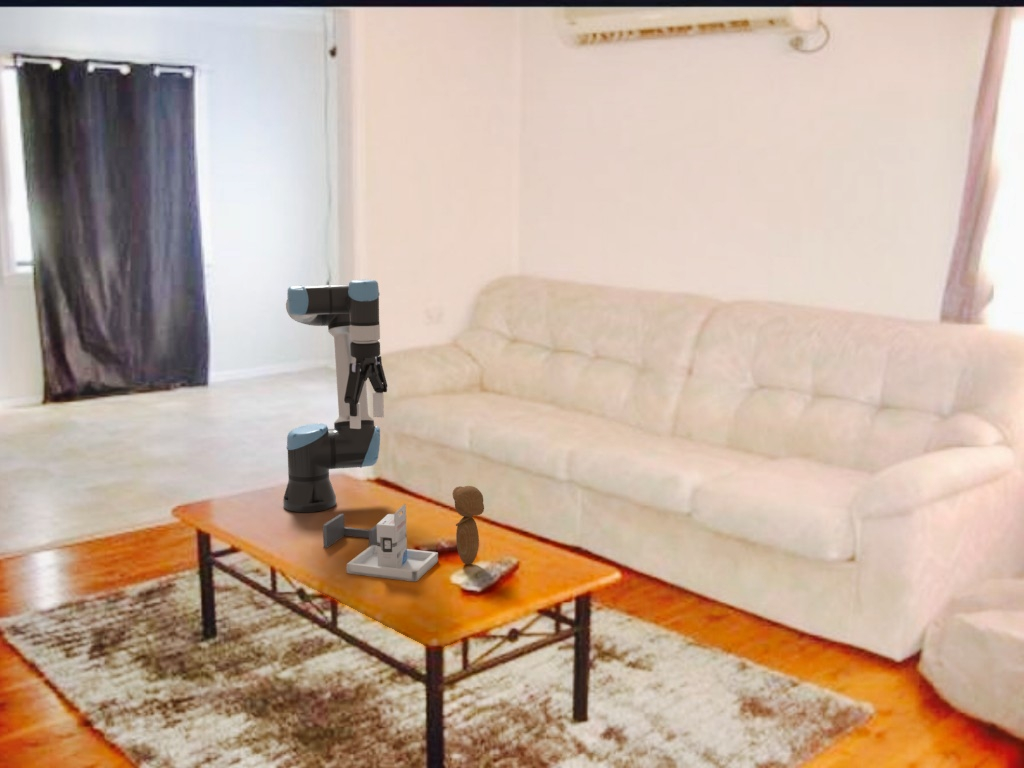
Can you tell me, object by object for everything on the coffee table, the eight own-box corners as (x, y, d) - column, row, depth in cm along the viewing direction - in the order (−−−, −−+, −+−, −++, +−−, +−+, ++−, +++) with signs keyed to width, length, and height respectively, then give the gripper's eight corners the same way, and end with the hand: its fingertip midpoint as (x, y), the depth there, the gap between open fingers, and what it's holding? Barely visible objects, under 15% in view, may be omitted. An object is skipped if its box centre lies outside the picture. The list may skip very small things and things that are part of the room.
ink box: (388, 558, 257) (387, 501, 255) (407, 559, 256) (406, 502, 254) (377, 570, 249) (375, 511, 246) (396, 572, 248) (395, 513, 245)
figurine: (465, 556, 260) (464, 479, 257) (490, 561, 257) (490, 483, 253) (447, 568, 253) (446, 489, 249) (472, 573, 249) (472, 493, 246)
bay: (343, 533, 277) (342, 512, 276) (391, 539, 273) (390, 517, 272) (323, 547, 267) (322, 525, 266) (373, 553, 263) (372, 530, 262)
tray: (372, 553, 262) (371, 544, 262) (438, 561, 257) (437, 552, 256) (346, 573, 249) (346, 563, 249) (415, 581, 244) (415, 572, 243)
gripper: (372, 333, 275) (374, 411, 279) (328, 347, 252) (331, 432, 256) (398, 334, 273) (400, 413, 277) (356, 349, 250) (358, 434, 254)
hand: (367, 422), depth 267 cm, fingers open, 13 cm apart
